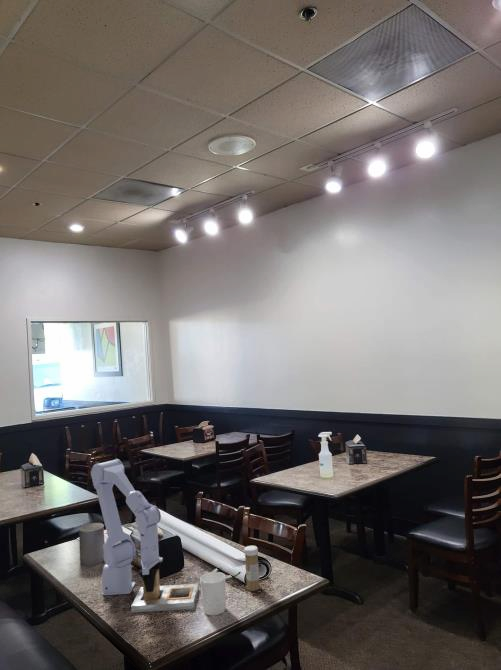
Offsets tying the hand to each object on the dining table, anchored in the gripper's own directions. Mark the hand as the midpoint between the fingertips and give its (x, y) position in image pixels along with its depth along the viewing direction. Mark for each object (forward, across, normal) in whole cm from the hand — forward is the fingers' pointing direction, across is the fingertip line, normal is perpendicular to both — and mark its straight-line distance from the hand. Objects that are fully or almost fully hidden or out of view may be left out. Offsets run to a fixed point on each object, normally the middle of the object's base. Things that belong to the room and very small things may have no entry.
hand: (151, 587), depth 160 cm
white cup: (+4, -8, -21) cm, 23 cm away
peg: (+3, 0, 0) cm, 3 cm away
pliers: (+5, +15, -20) cm, 25 cm away
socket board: (+4, 0, -5) cm, 6 cm away
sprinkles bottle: (+4, +5, -33) cm, 34 cm away
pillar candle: (+5, +37, +32) cm, 49 cm away
